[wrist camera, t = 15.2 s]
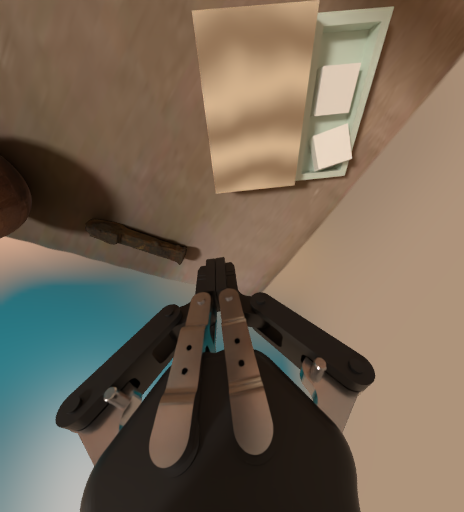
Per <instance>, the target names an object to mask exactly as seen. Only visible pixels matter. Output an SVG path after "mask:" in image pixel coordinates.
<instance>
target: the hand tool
mask: <svg viewBox="0 0 464 512" xmlns="http://www.w3.org/2000/svg"><path fill="white" fill-rule="evenodd" d="M85 229H86V231H87V232H88V233H89V234H90V236H92V237H94V238H97V239H100V240H102V241H104V242H106V243H109V244H113V245H114V244H117V243H119V244H124V245H127V246H130V247H133V248H136V249H139V250H142V251H145V252H148V253H151V254H154V255H157V256H160V257H163V258H167V259H170V260H172V261H175V262H177V263H178V264H179V265H180V264H181V263H182V261H183V260H184V257H185V255H186V247H181V246H180V245H174V244H171V243H168V242H165V241H161V240H159V239H156V238H155V237H151V236H148V235H145V234H142V233H139V232H136V231H133V230H131V229H128V228H126V227H125V226H124V225H122V224H119V223H115V222H111V221H105V220H96V219H91V220H89V221H88V222H87V223H86V227H85Z"/></svg>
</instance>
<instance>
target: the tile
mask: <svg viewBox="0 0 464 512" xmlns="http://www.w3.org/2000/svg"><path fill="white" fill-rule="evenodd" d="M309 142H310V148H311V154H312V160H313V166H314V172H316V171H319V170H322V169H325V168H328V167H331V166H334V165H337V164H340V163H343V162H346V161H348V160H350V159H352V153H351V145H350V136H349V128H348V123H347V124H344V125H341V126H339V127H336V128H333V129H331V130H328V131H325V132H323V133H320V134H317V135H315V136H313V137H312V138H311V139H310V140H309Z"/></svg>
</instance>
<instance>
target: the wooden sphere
mask: <svg viewBox="0 0 464 512" xmlns="http://www.w3.org/2000/svg"><path fill="white" fill-rule="evenodd" d="M31 207H32V198H31V193H30V190H29V188H28V186H27V184H26V182H25V180H24V179H23V177H22V176H21V175H20V173H19V172H18V171H17V170H16V169H15V168H14V167H13V166H12V165H11V164H10V163H9V162H8V161H7V160H5V159H4V158H3V157H2V156H0V238H2V237H4V236H7V235H9V234H10V233H12V232H14V231H15V230H17V229H18V228H19V227H20V226H21V225H22V224H23V223H24V222H25V221H26V219H27V218H28V216H29V214H30V211H31Z"/></svg>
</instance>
